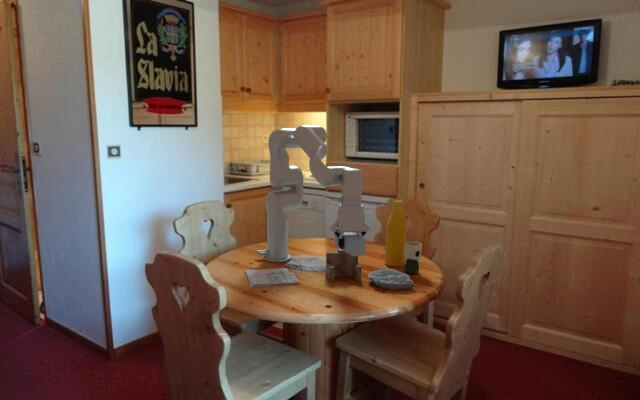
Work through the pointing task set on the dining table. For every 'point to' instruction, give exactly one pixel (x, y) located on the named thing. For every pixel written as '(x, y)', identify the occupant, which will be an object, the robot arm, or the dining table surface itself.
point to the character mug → (412, 256)
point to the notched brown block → (342, 265)
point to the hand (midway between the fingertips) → (349, 247)
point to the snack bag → (270, 277)
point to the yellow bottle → (396, 236)
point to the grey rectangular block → (352, 243)
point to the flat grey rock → (391, 279)
